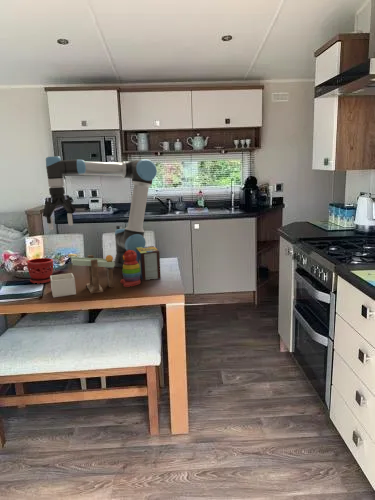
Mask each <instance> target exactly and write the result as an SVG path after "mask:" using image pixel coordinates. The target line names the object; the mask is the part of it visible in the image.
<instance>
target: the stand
mask: <svg viewBox="0 0 375 500" xmlns="http://www.w3.org/2000/svg"><path fill="white" fill-rule="evenodd" d="M87 258H95V255H94V254H89V255H87ZM87 267H88V281H89V283H86V284H85V285H86V287H87V289H88V291H89V292H90V294H98V293H103V292H104V289H103V288H102V286H101V285H100V277H99V267H98V263H97V259H95V260H91V266H87ZM113 269H114V268H113ZM113 269H112V268H106V274H107V275H106V276H107V286H108V287H109V288H110V287H111V288H115V287H114V271H113Z"/></svg>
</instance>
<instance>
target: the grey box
mask: <svg viewBox="0 0 375 500" xmlns="http://www.w3.org/2000/svg"><path fill="white" fill-rule="evenodd" d="M75 279H76V278H75V276H74V274H73V273H72V272H70V273H69V272H68V273H60V274H54V275H53V274H52V275H51V276H50V280H51V281H50V287H51V294H52V297H53V298H59V297H66V296H73V295H77V291H76V280H75Z"/></svg>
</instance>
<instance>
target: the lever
mask: <svg viewBox="0 0 375 500" xmlns="http://www.w3.org/2000/svg"><path fill="white" fill-rule="evenodd" d="M67 256H68V258H70V259H71V260H70V262H71V263H72V266H79V267H81V266H83V267H84V266H85V267H86V266H87V267H88V266H91V260H95V259H97V263H98V268H100V267H101V268H102V267H103V268H105V269H107V268H112V269H114V268H115V266H114V264H115V262H114V261H115V260H112V261H111V262H108V261H106V258H96V257H94V258H88V257H80V256H79V257H78V254H76V253H68V254H67Z"/></svg>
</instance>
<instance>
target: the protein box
mask: <svg viewBox="0 0 375 500" xmlns="http://www.w3.org/2000/svg"><path fill="white" fill-rule="evenodd" d="M160 253H161V252H160V250H159V249H158V248H156V247H155V246H154V245H151V246H150V245H149V246H145V247H136V254H137V258H136V261H137V262H138V263H139V266H140V271H141V273H140V280H141V279H142V280H145V281H151V280H150V279H154V280H159V279H158V278H162V277H161V276H162V275H161V258H160V257H161V255H160ZM142 280H141V281H142Z"/></svg>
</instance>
